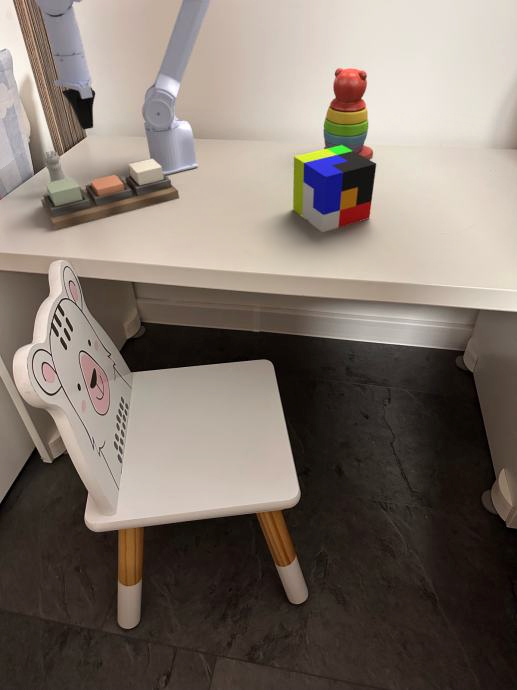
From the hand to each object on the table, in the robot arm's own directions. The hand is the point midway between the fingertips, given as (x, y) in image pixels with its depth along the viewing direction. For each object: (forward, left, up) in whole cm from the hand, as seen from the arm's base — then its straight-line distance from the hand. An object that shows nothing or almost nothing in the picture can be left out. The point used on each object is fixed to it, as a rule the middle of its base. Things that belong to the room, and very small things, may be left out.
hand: (87, 127), depth 102 cm
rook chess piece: (+9, +6, -10) cm, 15 cm away
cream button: (-6, +16, -6) cm, 18 cm away
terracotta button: (+2, +16, -8) cm, 18 cm away
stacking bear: (-49, +23, -10) cm, 55 cm away
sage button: (+10, +16, -6) cm, 20 cm away
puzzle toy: (-31, +43, -10) cm, 54 cm away
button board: (+2, +16, -9) cm, 19 cm away
